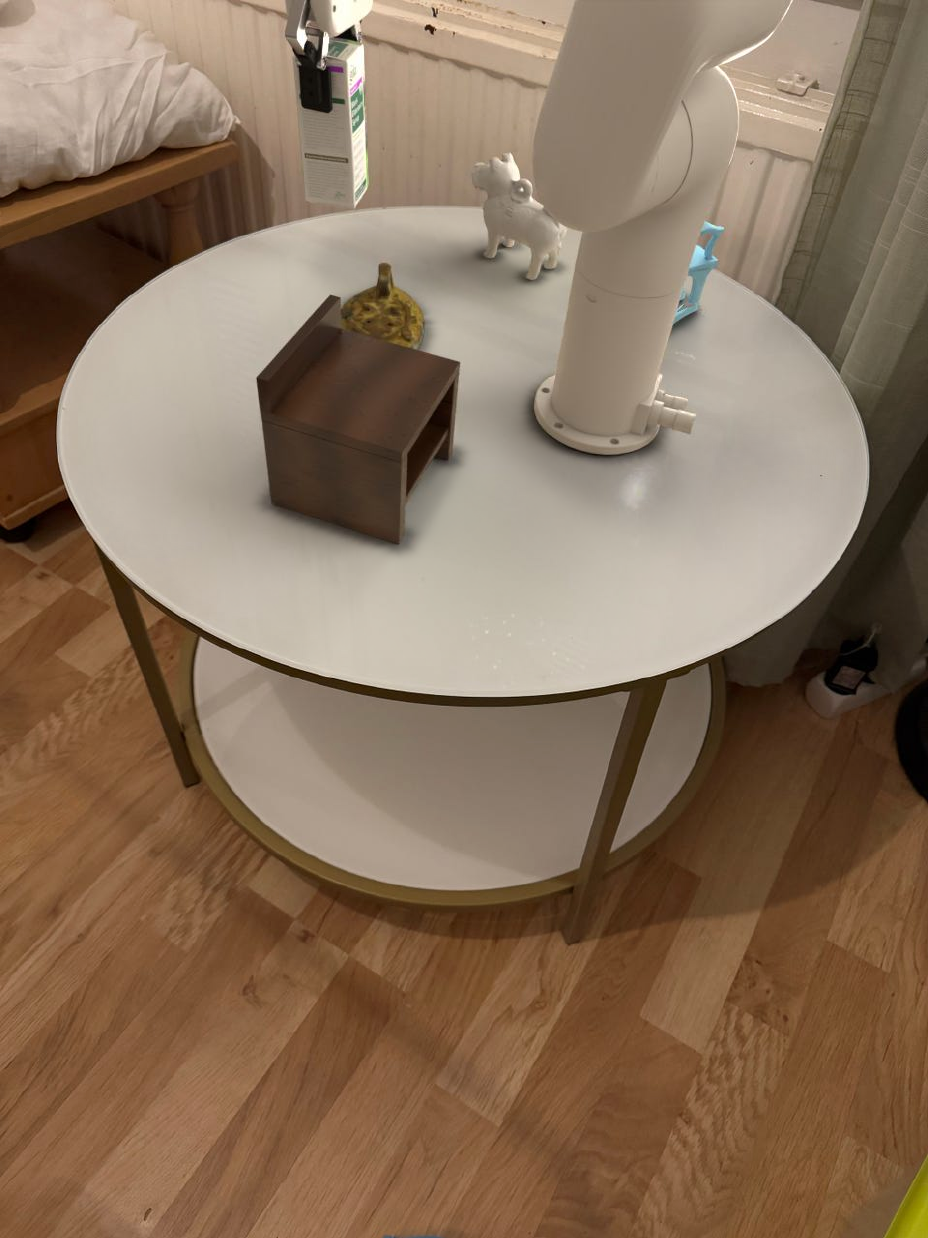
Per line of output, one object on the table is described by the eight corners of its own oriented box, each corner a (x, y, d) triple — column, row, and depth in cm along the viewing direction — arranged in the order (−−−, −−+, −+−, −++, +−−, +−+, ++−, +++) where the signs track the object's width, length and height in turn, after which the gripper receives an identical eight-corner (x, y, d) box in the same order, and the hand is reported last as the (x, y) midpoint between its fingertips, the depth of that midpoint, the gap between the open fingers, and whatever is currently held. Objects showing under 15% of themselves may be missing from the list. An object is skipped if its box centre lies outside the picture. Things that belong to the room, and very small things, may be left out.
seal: (421, 382, 93) (422, 300, 102) (428, 343, 89) (429, 262, 98) (330, 368, 91) (339, 287, 100) (333, 328, 87) (343, 247, 97)
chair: (710, 320, 102) (744, 217, 93) (651, 335, 99) (680, 230, 90) (670, 286, 107) (698, 183, 97) (612, 299, 104) (635, 195, 94)
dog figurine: (483, 229, 112) (492, 139, 104) (566, 269, 107) (582, 177, 99) (455, 243, 109) (462, 152, 101) (540, 285, 104) (554, 192, 96)
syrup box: (355, 210, 97) (350, 59, 86) (302, 202, 98) (291, 51, 87) (369, 187, 101) (366, 40, 90) (318, 180, 102) (309, 32, 91)
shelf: (452, 453, 84) (463, 330, 74) (399, 544, 76) (403, 420, 66) (335, 418, 86) (330, 293, 76) (270, 503, 78) (255, 377, 68)
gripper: (317, -101, 72) (329, 136, 86) (399, -139, 83) (398, 77, 97) (233, -115, 74) (258, 120, 87) (325, -150, 85) (334, 64, 98)
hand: (332, 95), depth 92 cm, fingers closed on syrup box, 6 cm apart
